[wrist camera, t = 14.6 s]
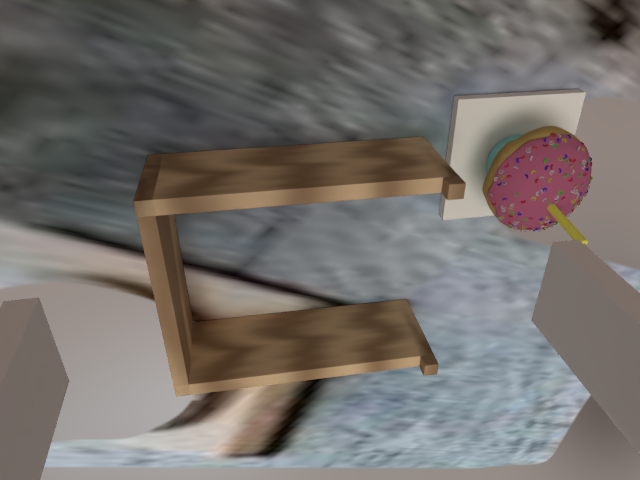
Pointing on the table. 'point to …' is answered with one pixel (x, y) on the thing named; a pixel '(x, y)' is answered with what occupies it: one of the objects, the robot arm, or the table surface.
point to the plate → (498, 136)
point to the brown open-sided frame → (296, 326)
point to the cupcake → (538, 179)
